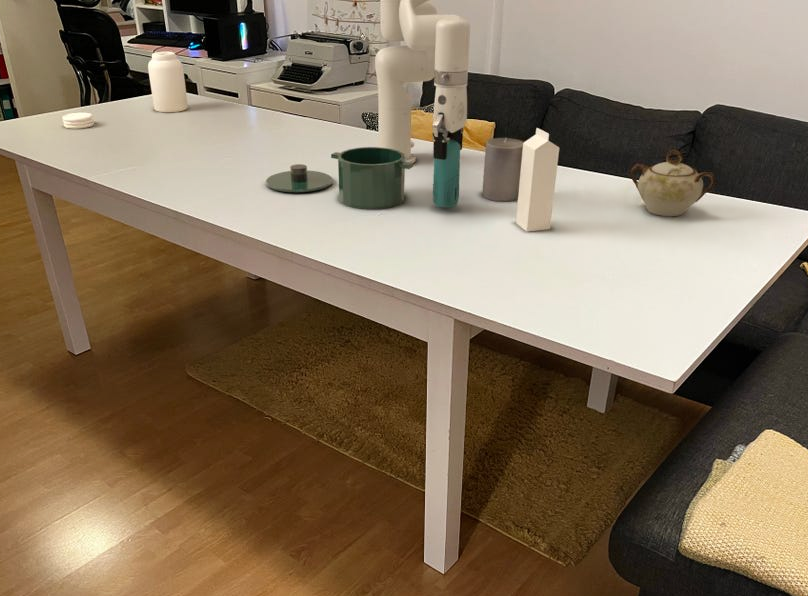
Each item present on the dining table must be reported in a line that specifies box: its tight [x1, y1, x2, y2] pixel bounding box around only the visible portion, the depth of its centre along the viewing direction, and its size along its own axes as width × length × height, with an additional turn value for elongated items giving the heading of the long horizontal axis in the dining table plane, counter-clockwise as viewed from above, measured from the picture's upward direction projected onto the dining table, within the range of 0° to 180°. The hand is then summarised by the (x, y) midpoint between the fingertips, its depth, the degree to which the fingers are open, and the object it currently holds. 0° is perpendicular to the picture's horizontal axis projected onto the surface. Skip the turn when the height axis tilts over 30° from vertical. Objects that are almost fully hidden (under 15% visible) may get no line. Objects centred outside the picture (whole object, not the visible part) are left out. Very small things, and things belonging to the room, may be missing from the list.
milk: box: [515, 127, 560, 233], centre depth 169 cm, size 6×6×22 cm
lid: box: [265, 163, 333, 193], centre depth 201 cm, size 18×18×5 cm
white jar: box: [147, 51, 189, 113], centre depth 277 cm, size 12×12×20 cm
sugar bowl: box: [629, 149, 716, 217], centre depth 180 cm, size 20×15×15 cm
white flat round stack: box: [61, 112, 95, 130], centre depth 259 cm, size 10×10×4 cm
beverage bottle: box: [432, 128, 461, 208], centre depth 180 cm, size 6×7×20 cm
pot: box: [330, 146, 414, 210], centre depth 189 cm, size 17×22×11 cm
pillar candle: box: [481, 136, 525, 202], centre depth 190 cm, size 10×10×15 cm
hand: (447, 154), depth 178 cm, fingers open, 9 cm apart
